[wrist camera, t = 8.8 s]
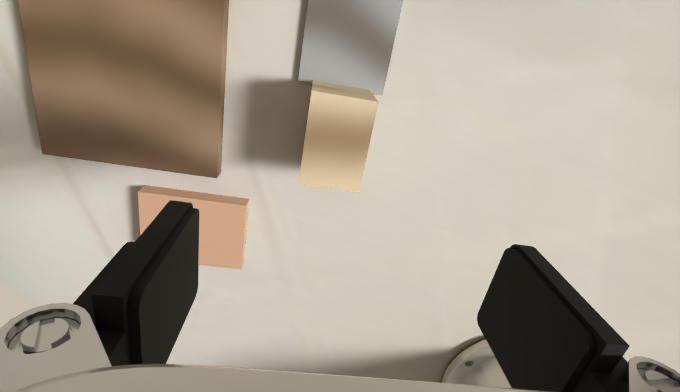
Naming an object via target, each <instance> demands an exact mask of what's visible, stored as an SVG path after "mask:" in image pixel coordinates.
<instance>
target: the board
mask: <svg viewBox="0 0 680 392" xmlns="http://www.w3.org/2000/svg"><path fill="white" fill-rule="evenodd" d="M18 5H19V11H20V17H21V24H22V30H23V36H24V42H25V49H26V55H27V61H28V67H29V73H30V80H31V86H32V92H33V98H34V105H35V111H36V117H37V123H38V129H39V136H40V142H41V148H42V154H47V155H54V156H61V157H69V158H76V159H83V160H90V161H97V162H105V163H112V164H119V165H126V166H133V167H140V168H148V169H155V170H162V171H169V172H176V173H183V174H191V175H198V176H205V177H212V178H217V177H218V176H219V174H220V173H221V157H222V136H223V114H224V93H225V71H226V50H227V28H228V7H229V0H18Z"/></svg>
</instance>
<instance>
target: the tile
mask: <svg viewBox="0 0 680 392" xmlns="http://www.w3.org/2000/svg"><path fill="white" fill-rule="evenodd" d="M170 200H173V201H181V202H189V203H192V204H193V208H196V209H199V259H198V265H207V266H216V267H225V268H234V269H242V266H243V263H244V257H245V244H246V232H247V219H248V206H249V199H245V198H237V197H230V196H222V195H214V194H207V193H199V192H192V191H184V190H177V189H169V188H161V187H154V186H146V185H144V186H143V187H142V188H141V189H140V190H139V191H138V206H139V223H140V235H141V234H142V233H143V232H144V231H145V229H146V228H147V227H148V226H149V225H150V223H151V222H152V221H153V220H154V219H155V217H156V216H157V215H158V214H159V213H160V211H161V210H162V209H163V208H164V207H165V205H166V204H167V203H168V202H169V201H170Z"/></svg>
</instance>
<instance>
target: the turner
mask: <svg viewBox="0 0 680 392" xmlns="http://www.w3.org/2000/svg"><path fill="white" fill-rule="evenodd" d="M402 2H403V0H308V5H307V13H306V21H305V29H304V37H303V45H302V53H301V61H300V69H299V77H298V81H303V82H309V83H312V90H311V97H310V104H309V111H308V118H307V126H306V133H305V140H304V147H303V154H302V161H301V169H300V176H299V183H298V184H299V185H306V186H313V187H320V188H327V189H334V190H341V191H349V192H356V193H359V190H360V185H361V180H362V176H363V171H364V166H365V162H366V157H367V152H368V148H369V143H370V138H371V134H372V129H373V124H374V120H375V115H376V110H377V106H378V101H377V100H376V98H375V97H374V96H373V94H378V95H382V94H383V90H384V85H385V81H386V76H387V71H388V67H389V62H390V58H391V53H392V48H393V44H394V39H395V35H396V30H397V25H398V21H399V16H400V12H401V7H402Z"/></svg>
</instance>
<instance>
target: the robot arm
mask: <svg viewBox="0 0 680 392" xmlns="http://www.w3.org/2000/svg"><path fill="white" fill-rule="evenodd" d="M198 259H199V209H196V208H193V204H192V203H189V202H181V201H173V200H170V201H169V202H168V203H167V204H166V205H165V207H164V208H163V209H162V210H161V211H160V213H159V214H158V215H157V216H156V217H155V219H154V220H153V221H152V222H151V223H150V225H149V226H148V227H147V228H146V229H145V231H144V232H143V233H142V234H141V235H140V237H139V238H138V239H137V240H136V241H135V242H127V243H126V244H125V245H124V246H123V247H122V248H121V249H120V250H119V252H118V253H117V254H116V255H115V256H114V257H113V258H112V260H111V261H110V262H109V263H108V264H107V265H106V266H105V268H104V269H103V270H102V271H101V272H100V273H99V275H98V276H97V277H96V278H95V279H94V280H93V281H92V283H91V284H90V285H89V286H88V287H87V288H86V289H85V291H84V292H83V293H82V294H81V295H80V296H79V297H78V299H77V300H76V301H75V302H74V303H73V304H68V303H57V304H49V305H44V306H39V307H36V308H33V309H31V310H28V311H26V312H23V313H21V314H20V315H18V316H16V317H14V318H13V319H11V320H10V321H9V322H7V323H6V324H5V325H4V326H3V327H1V329H0V392H680V374H679V373H678V372H676V371H675V370H673V369H671V368H670V367H668V366H666V365H664V364H663V363H660V362H658V361H655V360H653V359H650V358H646V357H633V358H631V359H630V360H629V362H627V361H626V360H625V359H624V358H623V357H622V356H623V355H624V353H625V352H626V350H627V349H628V347H629V345H628V344H627V343H626V342H625V341H624V340H623V339H622V338H621V337H620V336H619V335H618V334H617V332H616V331H615V330H614V329H613V328H612V327H611V326H610V325H609V324H608V323H607V322H606V321H605V320H604V319H603V318H602V317H601V316H600V315H599V314H598V313H597V312H596V311H595V310H594V309H593V308H592V307H591V306H590V304H589V303H588V302H587V301H586V300H585V299H584V298H583V297H582V296H581V295H580V294H579V293H578V292H577V291H576V290H575V289H574V288H573V287H572V286H571V285H570V284H569V283H568V282H567V281H566V280H565V279H564V277H563V276H562V275H561V274H560V273H559V272H558V271H557V270H556V269H555V268H554V267H553V266H552V265H551V264H550V263H549V262H548V261H547V260H546V259H545V258H544V257H543V256H542V255H541V254H540V253H539V252H538V251H537V249H536V248H534V247H531V246H524V245H516V244H514V245H512V246H511V247H510V248H508V249H506V250H505V251H504V253H503V256H502V258H501V260H500V263H499V265H498V268H497V270H496V272H495V275H494V277H493V279H492V282H491V284H490V286H489V289H488V291H487V293H486V296H485V298H484V300H483V303H482V305H481V308H480V310H479V312H478V316H477V321H478V325H479V327H480V329H481V331H482V333H483V335H484V337H485V340H482V341H480V342H478V343H476V344H473V345H472V346H470V347H468V348H467V349H465V350H464V351H462V352H461V353H460V354H459V355H458V356H457V357H455V358H454V360H453V361H452V362H451V363H450V364H449V366H448V367H447V369H446V371H445V373H444V375H443V379H442V383H438V382H426V381H413V380H399V379H386V378H373V377H360V376H346V375H332V374H318V373H304V372H290V371H276V370H263V369H249V368H235V367H221V366H200V365H174V364H166V362H167V360H168V357H169V355H170V353H171V351H172V348H173V346H174V344H175V342H176V339H177V337H178V335H179V333H180V330H181V328H182V326H183V324H184V322H185V319H186V317H187V315H188V313H189V310H190V308H191V306H192V304H193V301H194V299H195V297H196V293H197V289H198Z"/></svg>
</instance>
